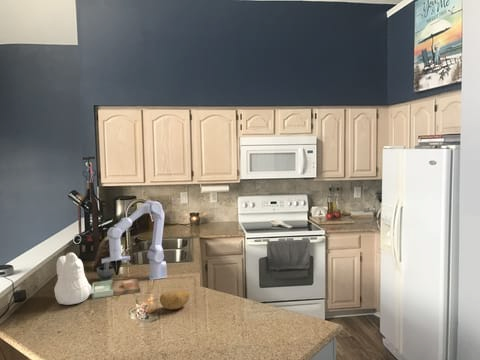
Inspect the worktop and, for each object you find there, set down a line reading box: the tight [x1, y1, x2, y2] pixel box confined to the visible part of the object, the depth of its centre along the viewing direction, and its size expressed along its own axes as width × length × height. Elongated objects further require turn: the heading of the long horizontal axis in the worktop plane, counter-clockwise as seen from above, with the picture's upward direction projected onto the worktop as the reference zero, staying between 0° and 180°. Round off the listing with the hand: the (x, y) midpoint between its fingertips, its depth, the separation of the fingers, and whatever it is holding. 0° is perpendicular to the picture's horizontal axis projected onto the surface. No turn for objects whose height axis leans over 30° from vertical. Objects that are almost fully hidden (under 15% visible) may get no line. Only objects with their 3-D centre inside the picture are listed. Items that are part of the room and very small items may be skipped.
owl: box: [92, 235, 112, 270], centre depth 237 cm, size 13×13×20 cm
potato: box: [159, 289, 191, 311], centre depth 173 cm, size 10×14×8 cm
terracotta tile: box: [123, 279, 133, 288], centre depth 199 cm, size 4×4×2 cm
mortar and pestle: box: [96, 257, 115, 282], centre depth 217 cm, size 11×9×12 cm
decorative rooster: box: [53, 251, 92, 306], centre depth 186 cm, size 25×16×25 cm, turn 34°
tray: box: [91, 279, 115, 300], centre depth 197 cm, size 10×17×3 cm, turn 20°
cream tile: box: [95, 285, 105, 292], centre depth 196 cm, size 4×4×2 cm
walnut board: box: [112, 278, 141, 297], centre depth 201 cm, size 13×17×2 cm
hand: (116, 274), depth 204 cm, fingers closed
